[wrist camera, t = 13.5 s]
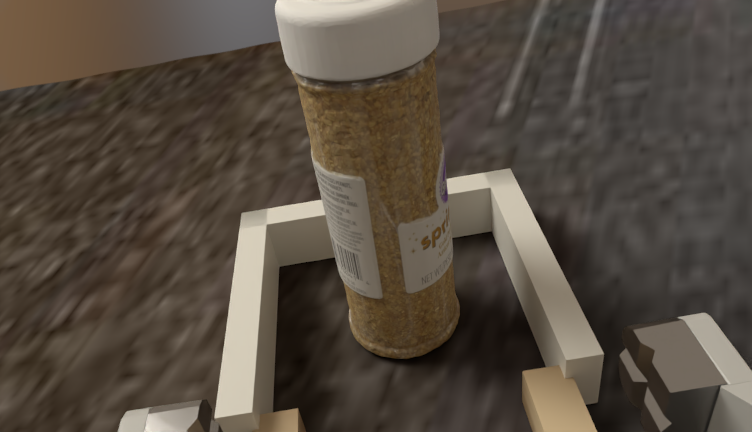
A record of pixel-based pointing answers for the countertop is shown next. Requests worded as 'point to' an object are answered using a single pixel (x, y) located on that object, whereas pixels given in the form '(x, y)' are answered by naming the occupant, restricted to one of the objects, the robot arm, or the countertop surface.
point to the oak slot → (539, 396)
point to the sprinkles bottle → (379, 162)
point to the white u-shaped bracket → (313, 242)
